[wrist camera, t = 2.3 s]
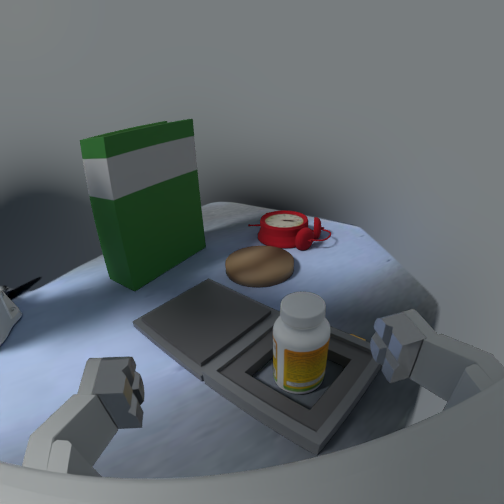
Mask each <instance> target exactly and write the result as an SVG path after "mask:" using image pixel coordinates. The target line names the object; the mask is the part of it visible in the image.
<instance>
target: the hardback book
mask: <svg viewBox="0 0 504 504" xmlns="http://www.w3.org/2000/svg"><path fill="white" fill-rule="evenodd" d="M80 145H81V151H82V158H83V164H84V170H85V175H86V181H87V186H88V191H89V196H90V201H91V206H92V210H93V215H94V220H95V224H96V228H97V232H98V236H99V240H100V244H101V248H102V252H103V256H104V259H105V263H106V267H107V270H108V274H109V277H110V279H111V280H113V281H115V282H117V283H119V284H121V285H123V286H125V287H127V288H129V289H131V290H133V291H136V290H138V289H140V288H141V287H143V286H144V285H146V284H147V283H149V282H151V281H152V280H154V279H155V278H157V277H158V276H160V275H162V274H163V273H165V272H166V271H168V270H170V269H171V268H173V267H174V266H176V265H178V264H179V263H181V262H182V261H184V260H186V259H187V258H189V257H190V256H192V255H194V254H195V253H197V252H199V251H200V250H202V249H203V248H205V247H206V244H205V236H204V227H203V219H202V210H201V202H200V192H199V183H198V173H197V163H196V152H195V142H194V129H193V119H187V120H181V121H175V122H169V123H167V121H163V122H158V123H152V124H148V125H142V126H137V127H133V128H128V129H124V130H119V131H115V132H110V133H106V134H103V135H98V136H94V137H91V138H87V139H83V140H80Z"/></svg>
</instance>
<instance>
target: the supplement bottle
mask: <svg viewBox="0 0 504 504" xmlns="http://www.w3.org/2000/svg"><path fill="white" fill-rule="evenodd" d="M325 310H326V304H325V301H324V300H323V299H322V298H321V297H320V296H318V295H316V294H314V293H310V292H294V293H291V294H289V295H287V296H285V297H284V298H283V299H282V301H281V305H280V316H279V317H278V318H277V320H276V321H275V323H274V326H273V375H274V380H275V382H276V384H277V385H278V386H279V387H280V388H281V389H282V390H284V391H286V392H289V393H293V394H305V393H309V392H312V391H314V390H315V389H317V388H318V387H319V386H320V385H321V383H322V381H323V379H324V375H325V368H326V361H327V354H328V347H329V340H330V324H329V322H328V320H327V319H326V318H325Z"/></svg>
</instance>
